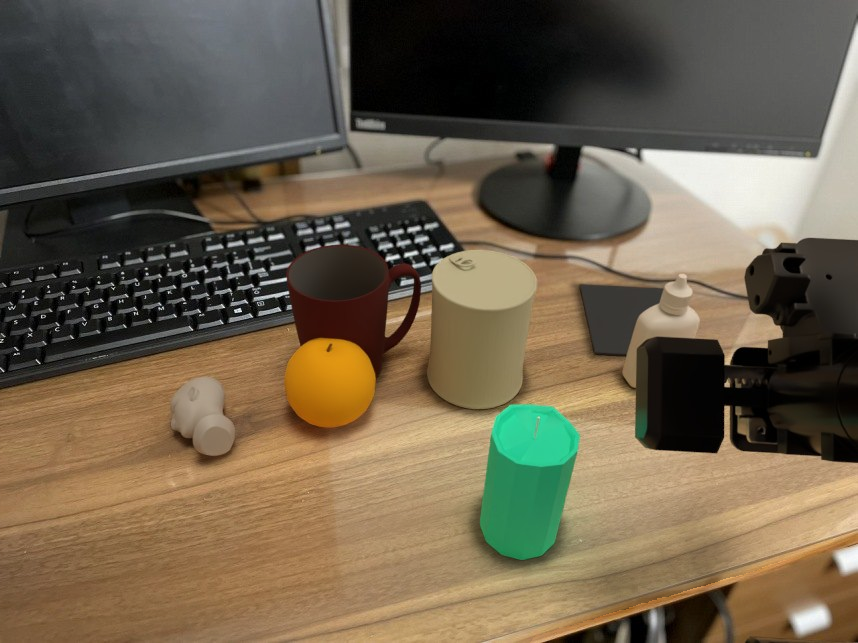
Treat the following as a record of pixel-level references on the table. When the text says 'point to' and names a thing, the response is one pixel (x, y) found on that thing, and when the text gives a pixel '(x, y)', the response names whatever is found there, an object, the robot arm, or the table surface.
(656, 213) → the table surface
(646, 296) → the felt mat
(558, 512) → the candle
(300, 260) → the mug
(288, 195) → the table surface
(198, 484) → the table surface
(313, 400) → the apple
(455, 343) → the can
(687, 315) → the eye dropper bottle
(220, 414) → the pale two-lobed sculpture
